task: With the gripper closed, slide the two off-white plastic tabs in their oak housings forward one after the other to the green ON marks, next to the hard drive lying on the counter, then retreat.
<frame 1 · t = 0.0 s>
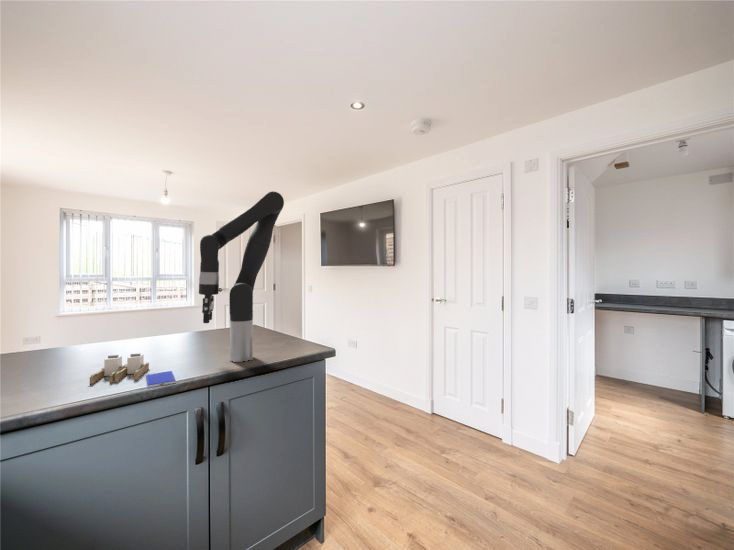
hand: (207, 321, 136), 17 cm above the countertop, tool pointing down, fingers open, 8 cm apart
tab b: (113, 364, 120), point 4 cm above the countertop, slide at 0.0 cm
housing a: (132, 375, 119), on the countertop
tab a: (135, 362, 122), point 4 cm above the countertop, slide at 0.0 cm
hard drive: (160, 382, 114), on the countertop
housing b: (109, 377, 117), on the countertop
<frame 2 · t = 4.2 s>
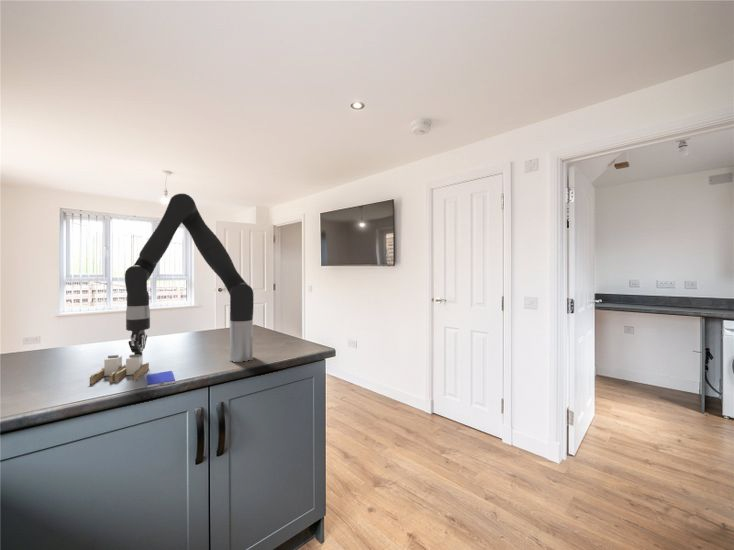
hand: (138, 361, 125), 3 cm above the countertop, tool pointing down, fingers closed
tab a: (134, 363, 121), point 4 cm above the countertop, slide at 1.2 cm, touching gripper
everything else where it was.
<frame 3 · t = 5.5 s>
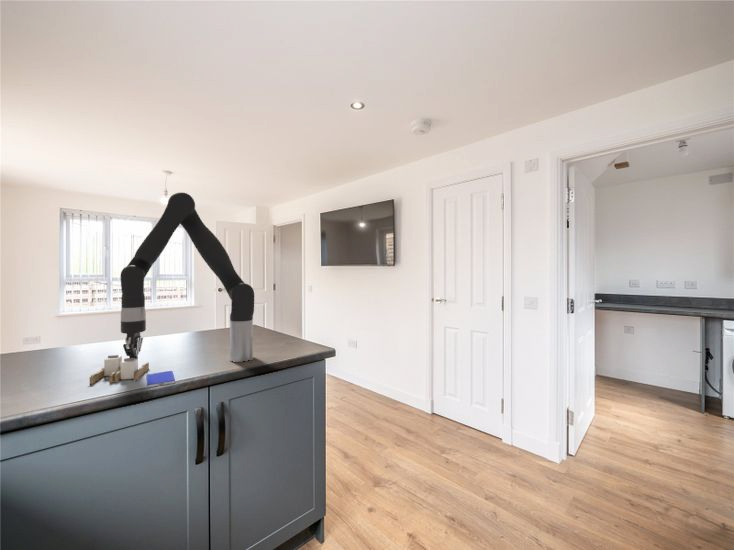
hand: (133, 365, 120), 3 cm above the countertop, tool pointing down, fingers closed
tab a: (129, 367, 116), point 4 cm above the countertop, slide at 6.3 cm, touching gripper
everything else where it was.
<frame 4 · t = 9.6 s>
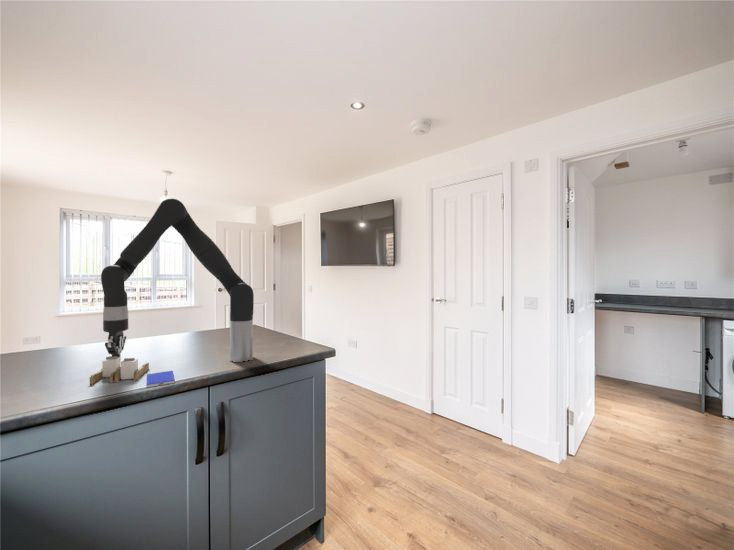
hand: (116, 363, 122), 3 cm above the countertop, tool pointing down, fingers closed
tab b: (111, 365, 118), point 4 cm above the countertop, slide at 1.6 cm, touching gripper
tab a: (129, 367, 116), point 4 cm above the countertop, slide at 6.3 cm
everything else where it was.
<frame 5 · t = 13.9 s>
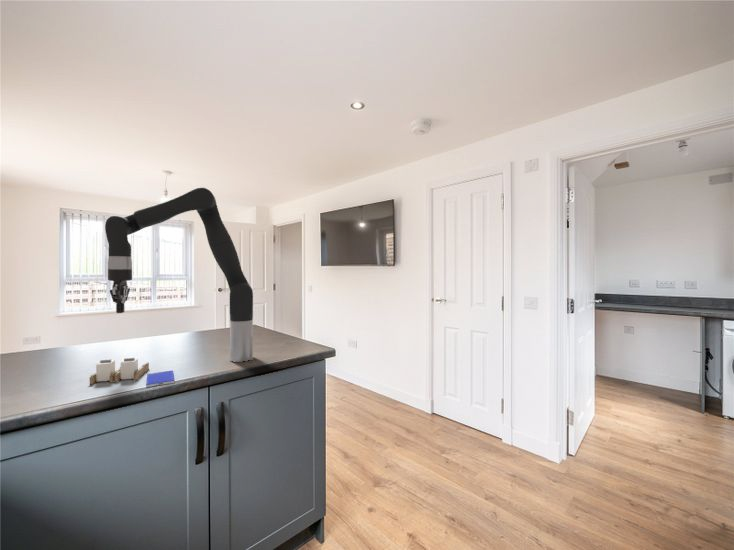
hand: (120, 312, 126), 22 cm above the countertop, tool pointing down, fingers closed
tab b: (105, 369, 114), point 4 cm above the countertop, slide at 6.3 cm
everything else where it was.
at the end: tab a slide at 6.3 cm; tab b slide at 6.3 cm; hard drive moved 1.0 cm from its start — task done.
